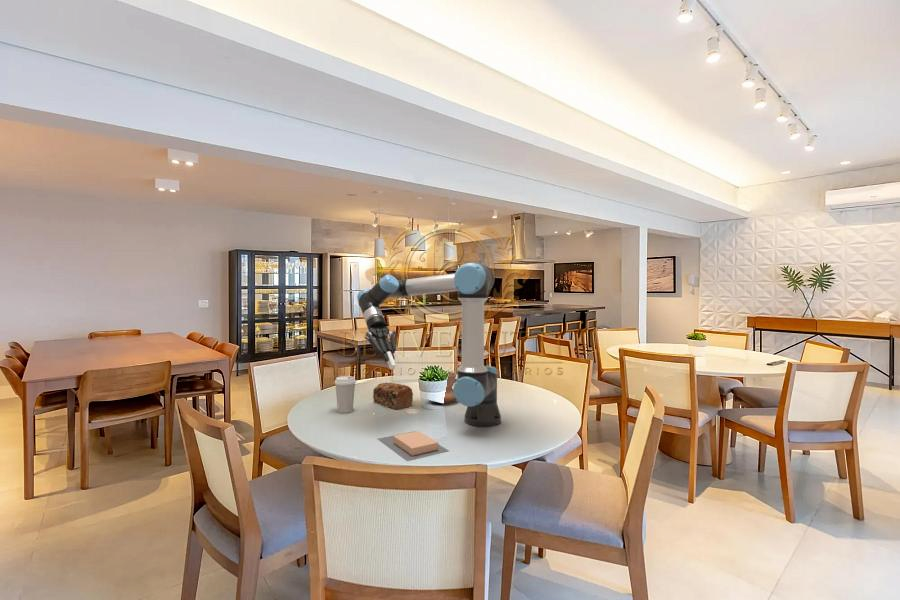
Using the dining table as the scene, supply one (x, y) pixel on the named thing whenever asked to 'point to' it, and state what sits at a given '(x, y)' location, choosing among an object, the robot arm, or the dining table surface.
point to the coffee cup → (345, 393)
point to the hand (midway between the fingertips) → (392, 367)
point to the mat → (405, 455)
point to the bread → (393, 395)
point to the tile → (415, 443)
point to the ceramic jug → (450, 388)
